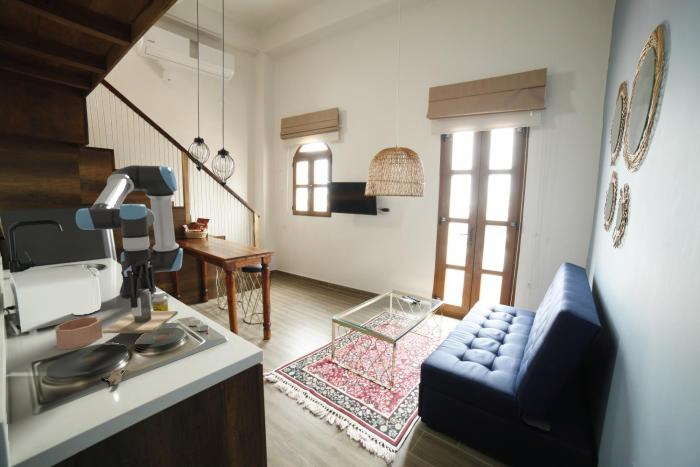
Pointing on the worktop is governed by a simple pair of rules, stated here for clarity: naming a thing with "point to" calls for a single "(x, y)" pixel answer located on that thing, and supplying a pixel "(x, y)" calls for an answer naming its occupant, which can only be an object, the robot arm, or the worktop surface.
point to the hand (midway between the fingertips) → (142, 312)
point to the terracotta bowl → (78, 332)
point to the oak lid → (142, 318)
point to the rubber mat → (134, 336)
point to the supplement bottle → (160, 301)
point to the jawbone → (115, 377)
